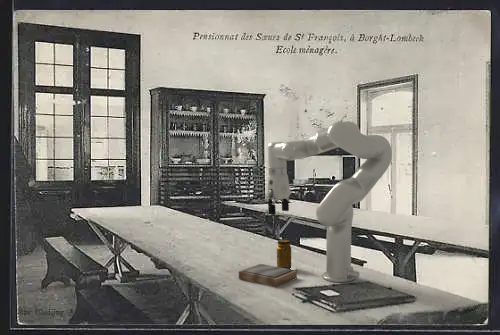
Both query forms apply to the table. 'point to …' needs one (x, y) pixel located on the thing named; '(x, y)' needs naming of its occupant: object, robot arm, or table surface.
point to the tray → (267, 275)
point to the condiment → (284, 254)
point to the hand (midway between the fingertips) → (278, 212)
